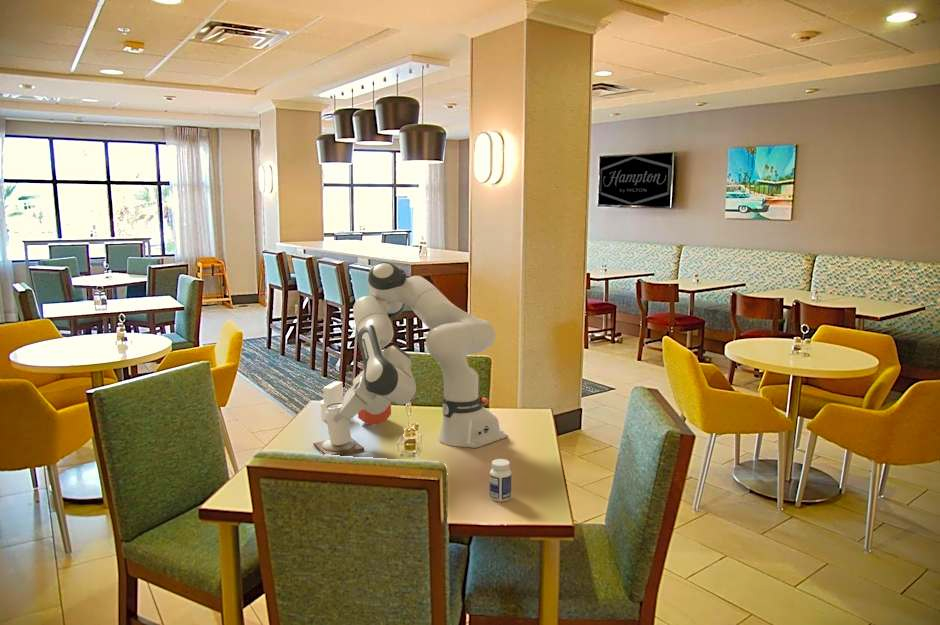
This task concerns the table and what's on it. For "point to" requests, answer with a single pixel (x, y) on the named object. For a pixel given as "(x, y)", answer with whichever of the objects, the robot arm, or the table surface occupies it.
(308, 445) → the table surface
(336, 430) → the can
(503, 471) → the pill bottle
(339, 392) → the base with upright slab
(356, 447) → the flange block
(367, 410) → the french fries container
